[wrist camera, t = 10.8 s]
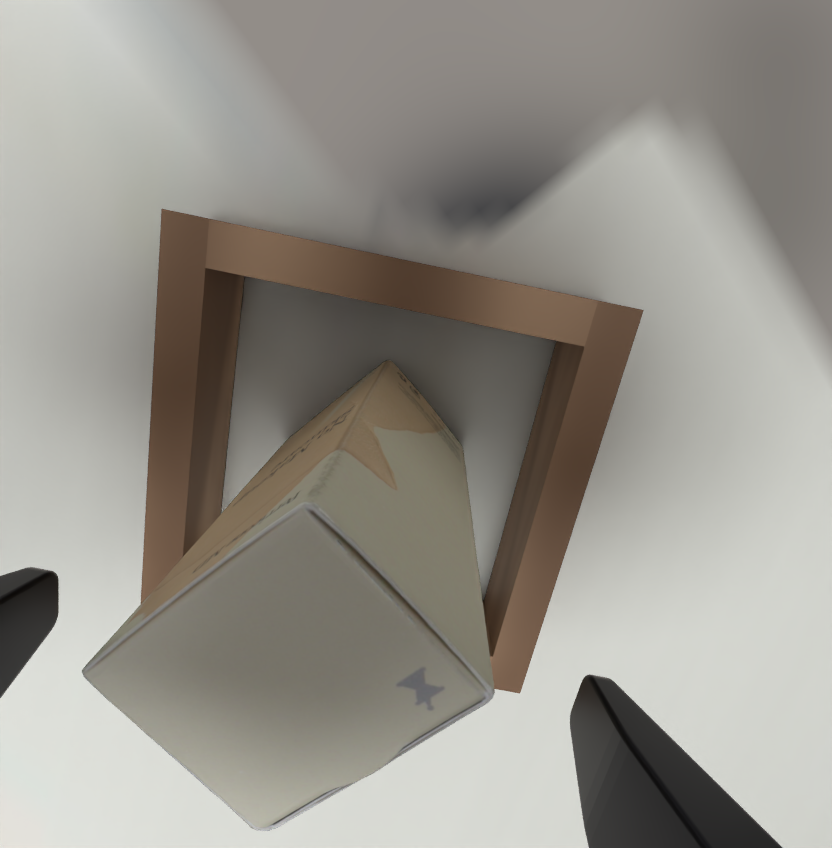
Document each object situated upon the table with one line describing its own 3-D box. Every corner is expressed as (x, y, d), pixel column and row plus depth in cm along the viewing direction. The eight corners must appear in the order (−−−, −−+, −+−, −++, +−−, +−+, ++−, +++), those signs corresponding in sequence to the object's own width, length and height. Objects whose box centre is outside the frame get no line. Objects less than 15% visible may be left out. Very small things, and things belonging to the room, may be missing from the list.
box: (390, 355, 17) (323, 482, 6) (467, 449, 18) (519, 699, 7) (277, 445, 18) (60, 684, 7) (355, 530, 19) (259, 854, 8)
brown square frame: (182, 571, 20) (139, 622, 17) (210, 220, 16) (161, 208, 13) (507, 633, 20) (519, 693, 17) (606, 304, 16) (643, 310, 14)
